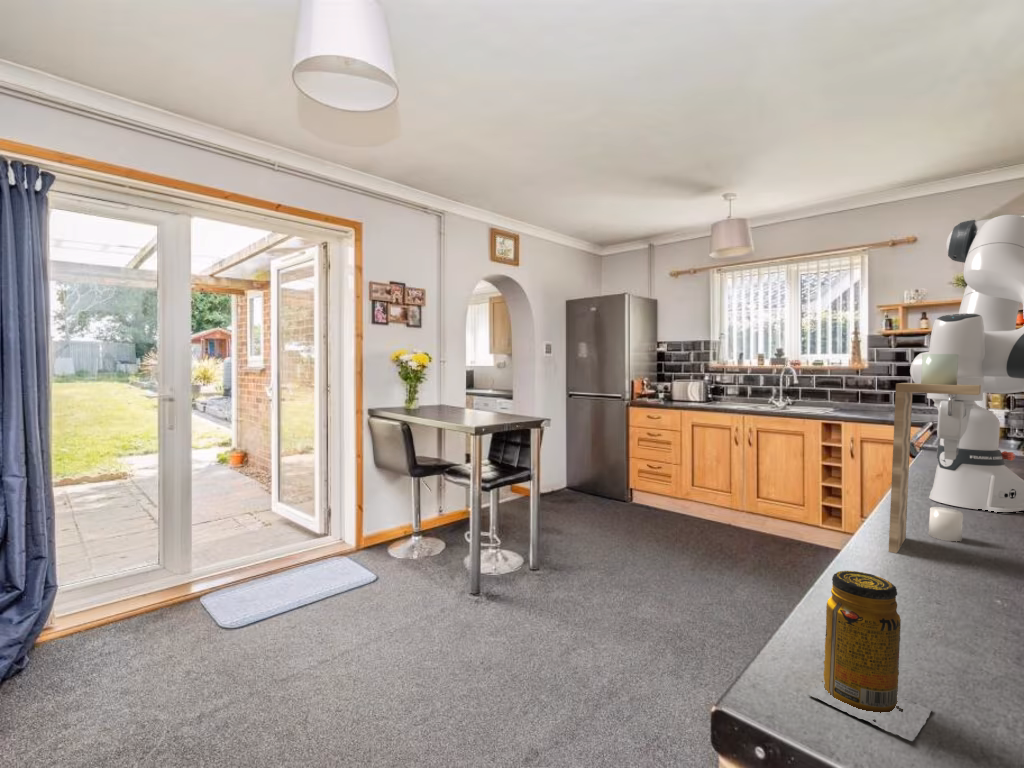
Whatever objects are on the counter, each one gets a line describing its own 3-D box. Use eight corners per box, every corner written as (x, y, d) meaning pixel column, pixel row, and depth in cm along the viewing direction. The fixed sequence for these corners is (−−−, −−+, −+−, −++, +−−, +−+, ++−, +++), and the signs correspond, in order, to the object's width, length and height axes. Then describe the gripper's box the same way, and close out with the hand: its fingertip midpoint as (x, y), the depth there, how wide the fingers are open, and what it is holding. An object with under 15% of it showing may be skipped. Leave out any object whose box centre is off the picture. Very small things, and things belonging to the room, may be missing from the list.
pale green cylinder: (939, 384, 95) (940, 355, 95) (964, 385, 90) (966, 354, 90) (913, 383, 95) (915, 354, 95) (938, 384, 90) (939, 353, 90)
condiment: (834, 670, 55) (838, 561, 55) (933, 712, 49) (939, 588, 49) (806, 697, 51) (811, 577, 50) (912, 746, 44) (918, 610, 44)
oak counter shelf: (898, 536, 102) (905, 382, 101) (972, 551, 94) (980, 385, 93) (888, 551, 93) (896, 383, 92) (969, 568, 85) (978, 386, 84)
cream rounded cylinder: (944, 533, 105) (946, 506, 104) (968, 541, 100) (970, 514, 99) (921, 533, 104) (923, 506, 104) (944, 541, 99) (946, 514, 99)
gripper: (972, 393, 97) (969, 466, 98) (976, 391, 112) (973, 454, 112) (929, 391, 101) (926, 461, 102) (939, 389, 116) (936, 450, 117)
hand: (951, 457), depth 107 cm, fingers open, 5 cm apart
